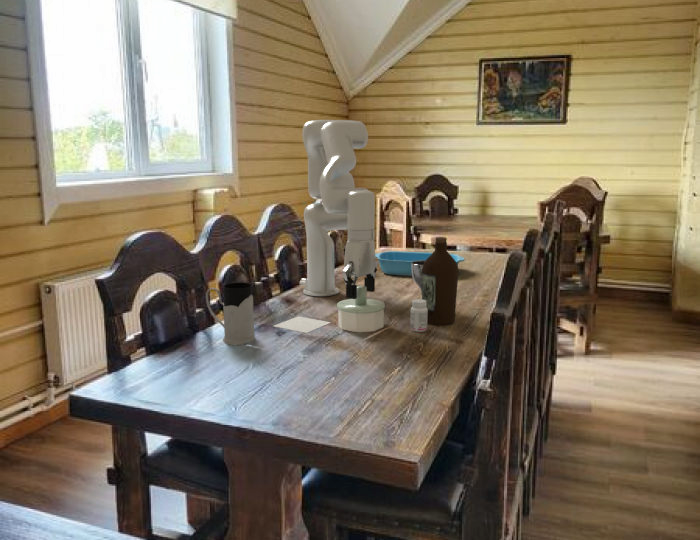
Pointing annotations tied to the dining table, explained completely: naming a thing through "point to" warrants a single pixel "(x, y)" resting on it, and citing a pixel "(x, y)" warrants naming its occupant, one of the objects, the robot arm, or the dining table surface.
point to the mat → (302, 324)
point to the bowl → (361, 321)
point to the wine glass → (417, 273)
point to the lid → (361, 303)
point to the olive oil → (440, 284)
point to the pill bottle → (418, 315)
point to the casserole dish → (404, 261)
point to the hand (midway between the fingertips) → (360, 294)
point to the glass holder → (236, 313)
